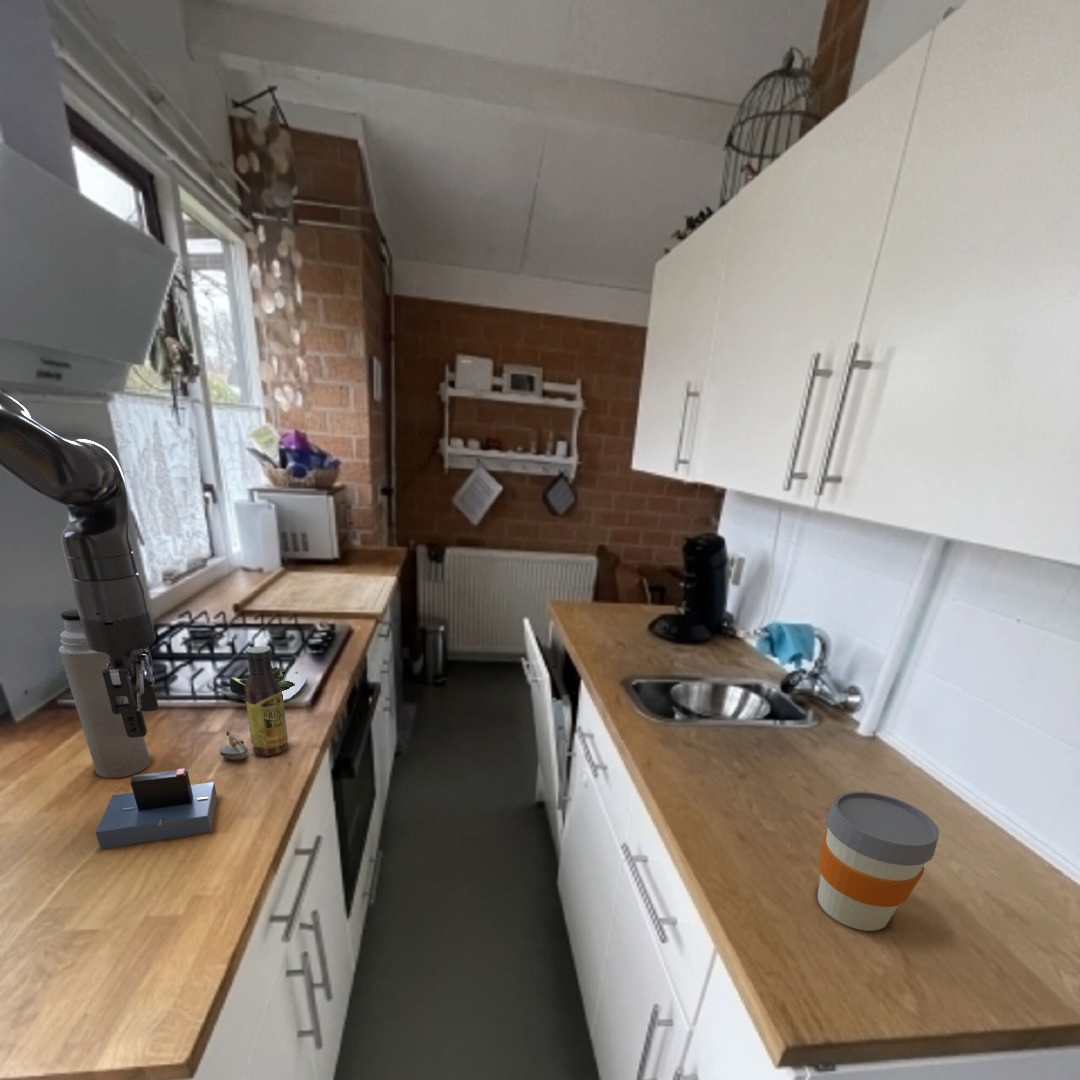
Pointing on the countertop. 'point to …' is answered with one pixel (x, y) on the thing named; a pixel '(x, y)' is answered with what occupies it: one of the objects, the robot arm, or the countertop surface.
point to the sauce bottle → (264, 704)
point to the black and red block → (162, 789)
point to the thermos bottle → (98, 705)
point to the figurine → (234, 748)
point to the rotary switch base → (156, 819)
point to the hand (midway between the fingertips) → (144, 722)
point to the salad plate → (239, 684)
